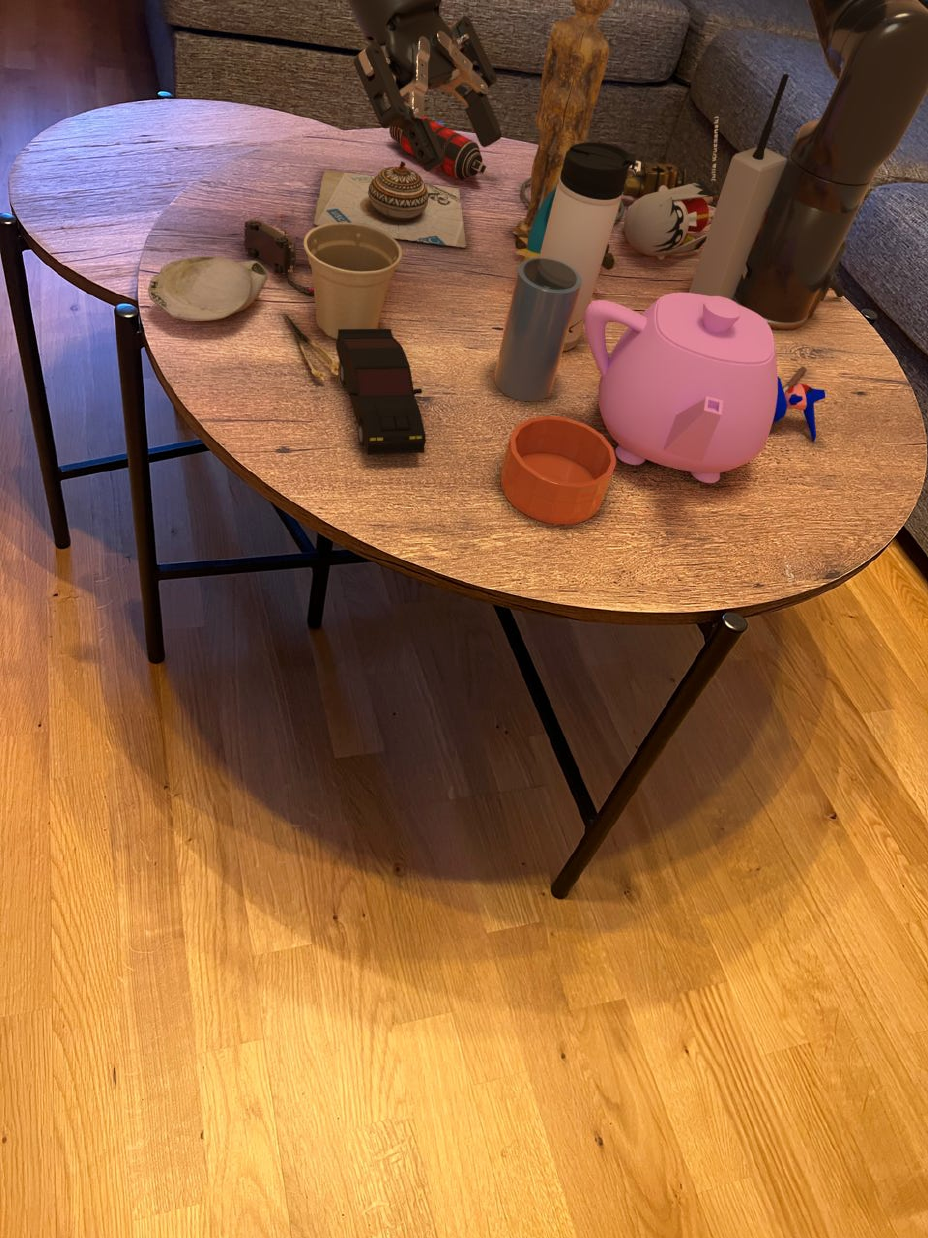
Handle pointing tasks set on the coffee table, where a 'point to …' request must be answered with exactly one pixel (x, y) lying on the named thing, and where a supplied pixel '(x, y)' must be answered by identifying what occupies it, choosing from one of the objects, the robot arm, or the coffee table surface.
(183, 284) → the seashell
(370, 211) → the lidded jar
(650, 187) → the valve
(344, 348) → the toy car
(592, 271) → the travel mug
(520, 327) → the grey metal cylinder
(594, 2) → the sculpture
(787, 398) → the figurine
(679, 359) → the teapot
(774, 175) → the vintage mobile phone
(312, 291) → the necklace
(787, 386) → the pen
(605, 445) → the orange round bowl
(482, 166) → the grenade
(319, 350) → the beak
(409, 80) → the robot arm
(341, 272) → the flower pot
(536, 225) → the toy
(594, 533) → the coffee table surface
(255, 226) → the toy car
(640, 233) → the toy
